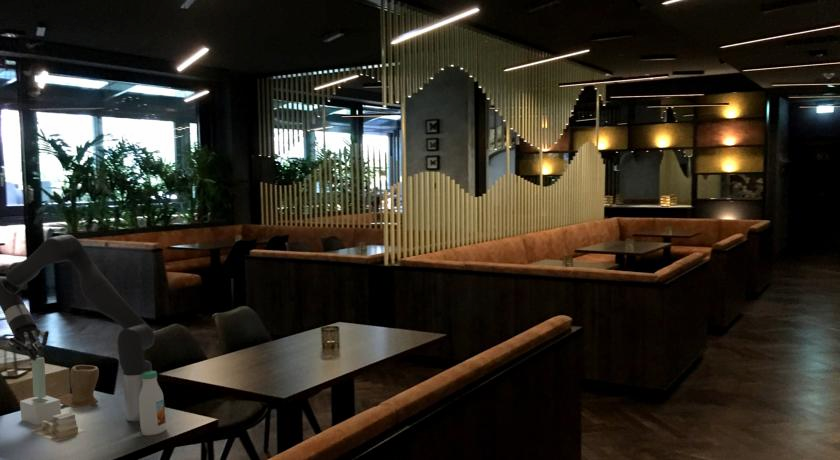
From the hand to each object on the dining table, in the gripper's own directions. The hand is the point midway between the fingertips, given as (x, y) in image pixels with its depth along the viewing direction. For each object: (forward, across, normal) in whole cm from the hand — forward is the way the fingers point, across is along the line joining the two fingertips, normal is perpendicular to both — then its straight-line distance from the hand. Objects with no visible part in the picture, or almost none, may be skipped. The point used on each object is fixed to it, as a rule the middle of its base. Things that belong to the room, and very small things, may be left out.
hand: (38, 358), depth 231 cm
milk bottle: (+47, +15, -14) cm, 51 cm away
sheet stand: (+15, 0, +18) cm, 23 cm away
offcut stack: (+30, -3, 0) cm, 30 cm away
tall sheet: (+8, 0, +11) cm, 14 cm away
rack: (+28, -3, +5) cm, 28 cm away
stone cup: (+10, +18, +23) cm, 31 cm away
